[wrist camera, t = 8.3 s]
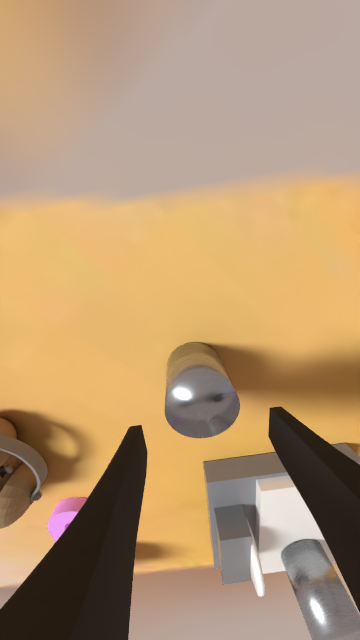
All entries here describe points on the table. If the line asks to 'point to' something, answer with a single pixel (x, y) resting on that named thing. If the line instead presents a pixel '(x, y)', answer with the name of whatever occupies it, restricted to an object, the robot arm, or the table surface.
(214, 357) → the cylinder
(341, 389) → the table surface
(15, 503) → the alarm clock
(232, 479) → the scale
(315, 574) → the cylinder
